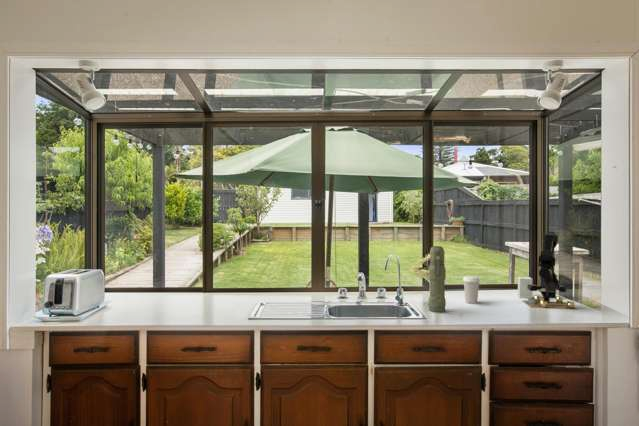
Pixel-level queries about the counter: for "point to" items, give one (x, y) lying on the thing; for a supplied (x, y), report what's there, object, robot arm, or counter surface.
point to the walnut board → (551, 305)
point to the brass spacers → (558, 300)
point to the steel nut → (532, 301)
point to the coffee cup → (471, 289)
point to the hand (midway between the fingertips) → (546, 303)
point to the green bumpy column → (437, 280)
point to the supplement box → (524, 287)
